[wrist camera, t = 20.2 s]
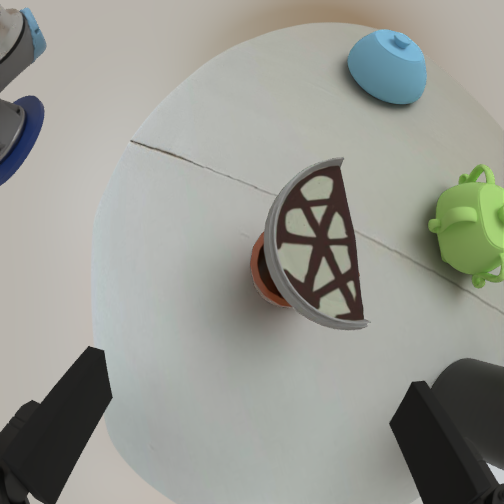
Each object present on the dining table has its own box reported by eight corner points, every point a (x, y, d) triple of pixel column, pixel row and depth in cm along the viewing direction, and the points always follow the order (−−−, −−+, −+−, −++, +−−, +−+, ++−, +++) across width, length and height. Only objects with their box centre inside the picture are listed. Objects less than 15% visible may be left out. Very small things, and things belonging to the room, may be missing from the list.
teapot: (456, 173, 39) (498, 139, 27) (499, 237, 37) (547, 218, 24) (407, 226, 37) (456, 195, 25) (457, 300, 35) (515, 294, 23)
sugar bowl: (341, 47, 44) (353, 4, 33) (408, 65, 44) (428, 27, 32) (349, 99, 42) (368, 51, 30) (425, 118, 41) (454, 80, 30)
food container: (255, 204, 29) (255, 154, 19) (316, 199, 29) (342, 150, 19) (268, 331, 26) (274, 345, 17) (332, 323, 26) (371, 331, 17)
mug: (247, 301, 36) (244, 299, 27) (258, 236, 37) (258, 214, 29) (336, 314, 35) (360, 316, 27) (344, 250, 37) (368, 233, 28)
